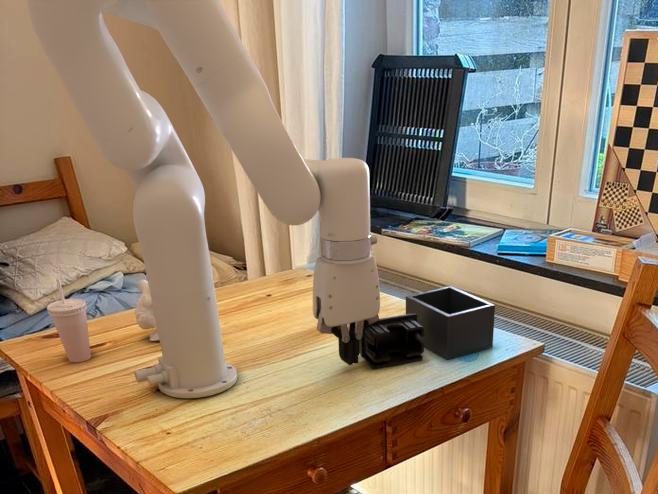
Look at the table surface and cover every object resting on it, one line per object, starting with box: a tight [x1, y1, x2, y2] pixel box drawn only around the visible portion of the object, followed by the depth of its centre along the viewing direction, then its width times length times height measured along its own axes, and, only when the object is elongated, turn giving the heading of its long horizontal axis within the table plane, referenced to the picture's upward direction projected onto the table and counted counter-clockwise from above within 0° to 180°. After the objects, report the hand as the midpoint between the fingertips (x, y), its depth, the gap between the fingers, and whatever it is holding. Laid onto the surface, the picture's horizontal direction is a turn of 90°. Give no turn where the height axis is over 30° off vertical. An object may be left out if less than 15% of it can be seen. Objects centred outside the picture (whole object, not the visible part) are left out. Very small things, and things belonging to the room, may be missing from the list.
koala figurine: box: [134, 279, 160, 342], centre depth 135 cm, size 8×7×12 cm
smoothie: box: [46, 277, 92, 363], centre depth 128 cm, size 6×6×14 cm
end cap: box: [359, 313, 425, 370], centre depth 125 cm, size 10×7×7 cm
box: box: [405, 285, 496, 361], centre depth 129 cm, size 10×13×8 cm
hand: (349, 361), depth 123 cm, fingers closed
